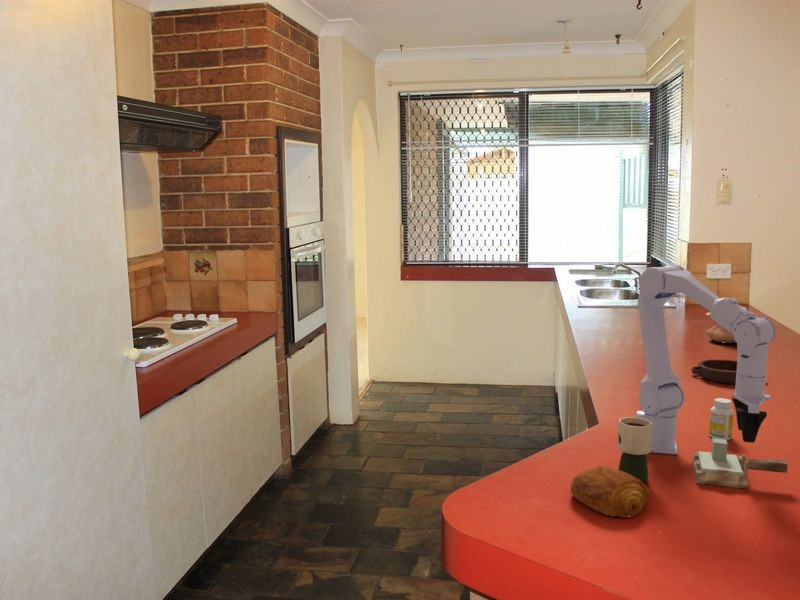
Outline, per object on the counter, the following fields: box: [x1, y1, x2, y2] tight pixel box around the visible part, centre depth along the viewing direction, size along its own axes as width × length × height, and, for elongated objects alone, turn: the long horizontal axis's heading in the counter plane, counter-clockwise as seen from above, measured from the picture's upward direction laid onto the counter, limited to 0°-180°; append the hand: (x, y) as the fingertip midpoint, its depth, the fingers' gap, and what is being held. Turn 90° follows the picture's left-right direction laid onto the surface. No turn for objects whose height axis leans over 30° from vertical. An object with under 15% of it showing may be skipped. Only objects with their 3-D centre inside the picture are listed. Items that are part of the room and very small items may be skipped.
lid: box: [697, 438, 743, 476], centre depth 165 cm, size 8×11×5 cm
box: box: [691, 449, 749, 490], centre depth 166 cm, size 10×12×6 cm
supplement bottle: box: [708, 397, 735, 441], centre depth 190 cm, size 5×5×10 cm
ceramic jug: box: [706, 306, 748, 343], centre depth 301 cm, size 18×14×14 cm
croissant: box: [570, 465, 651, 518], centre depth 152 cm, size 14×16×8 cm
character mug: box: [616, 416, 653, 483], centre depth 163 cm, size 11×7×13 cm, turn 151°
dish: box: [690, 358, 737, 385], centre depth 246 cm, size 18×22×5 cm
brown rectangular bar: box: [745, 457, 788, 474], centre depth 160 cm, size 8×2×2 cm, turn 73°
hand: (746, 435), depth 163 cm, fingers open, 7 cm apart
